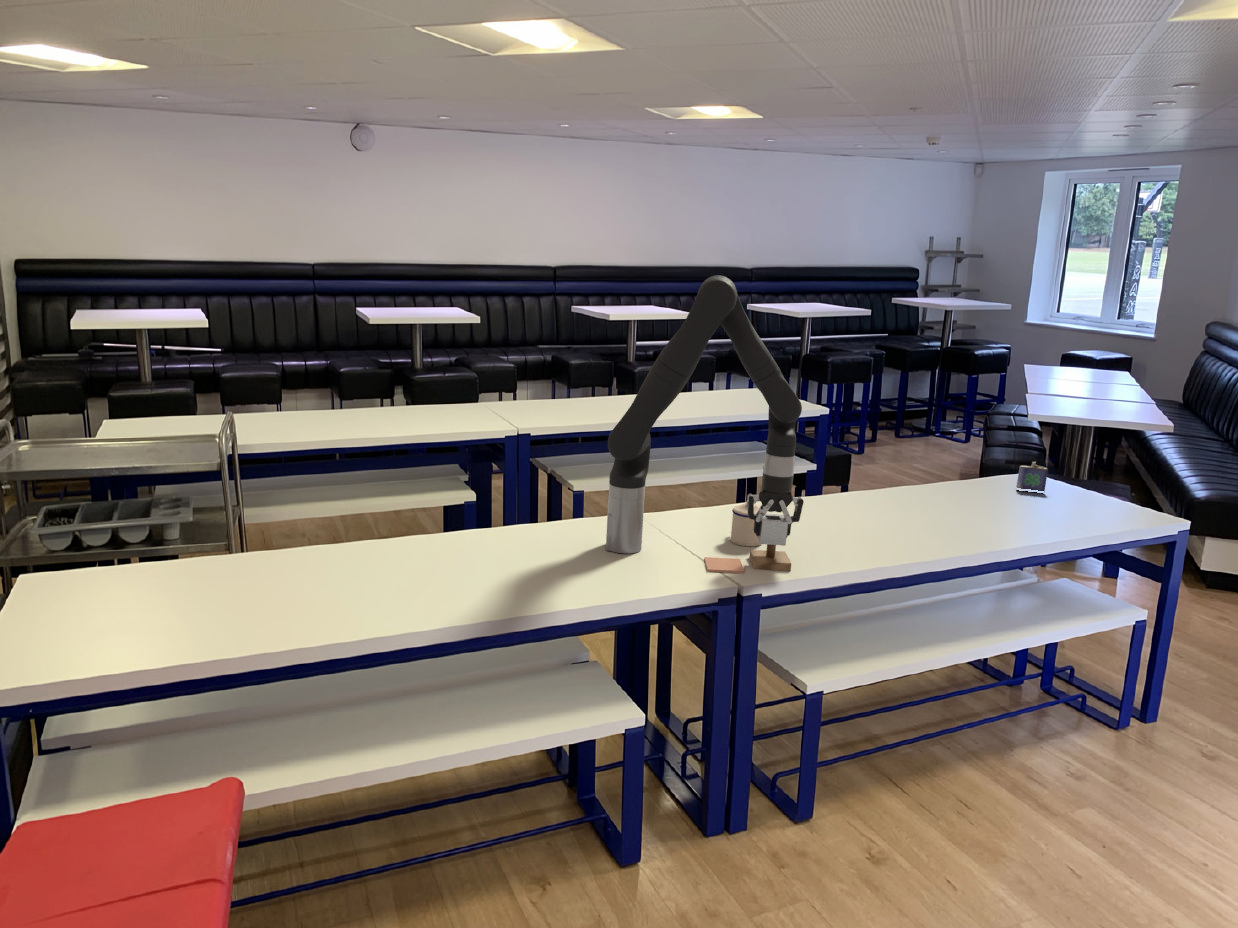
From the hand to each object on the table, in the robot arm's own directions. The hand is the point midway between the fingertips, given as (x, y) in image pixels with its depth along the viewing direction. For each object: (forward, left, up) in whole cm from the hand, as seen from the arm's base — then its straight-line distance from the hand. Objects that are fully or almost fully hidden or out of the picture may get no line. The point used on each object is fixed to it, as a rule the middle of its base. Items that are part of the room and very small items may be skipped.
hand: (771, 535), depth 233 cm
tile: (-12, -4, -7) cm, 14 cm away
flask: (+105, +89, -8) cm, 138 cm away
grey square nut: (0, 0, -1) cm, 1 cm away
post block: (0, 0, -7) cm, 7 cm away
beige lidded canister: (-4, +18, -8) cm, 20 cm away
